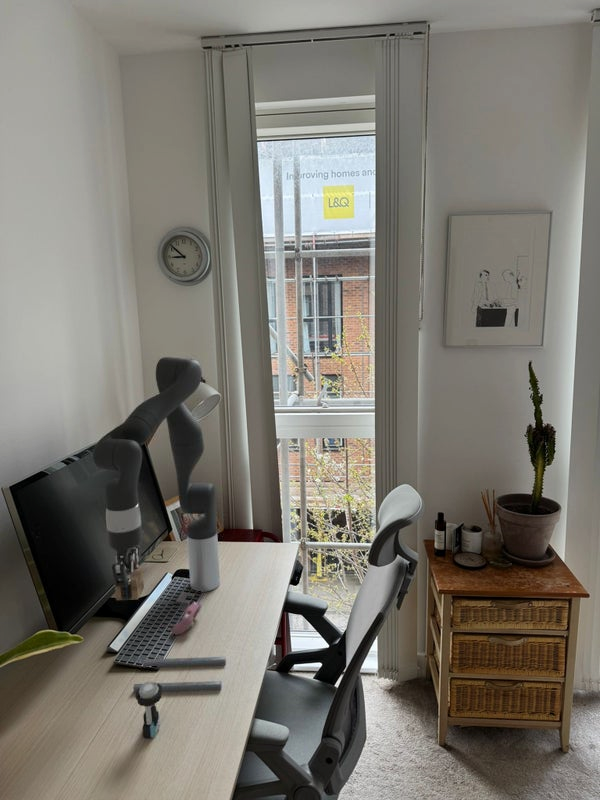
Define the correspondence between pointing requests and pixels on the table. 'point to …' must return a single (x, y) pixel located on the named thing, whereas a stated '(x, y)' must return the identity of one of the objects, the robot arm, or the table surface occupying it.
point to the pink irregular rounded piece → (187, 619)
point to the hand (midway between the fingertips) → (130, 591)
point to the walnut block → (133, 585)
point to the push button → (149, 706)
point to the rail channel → (186, 662)
